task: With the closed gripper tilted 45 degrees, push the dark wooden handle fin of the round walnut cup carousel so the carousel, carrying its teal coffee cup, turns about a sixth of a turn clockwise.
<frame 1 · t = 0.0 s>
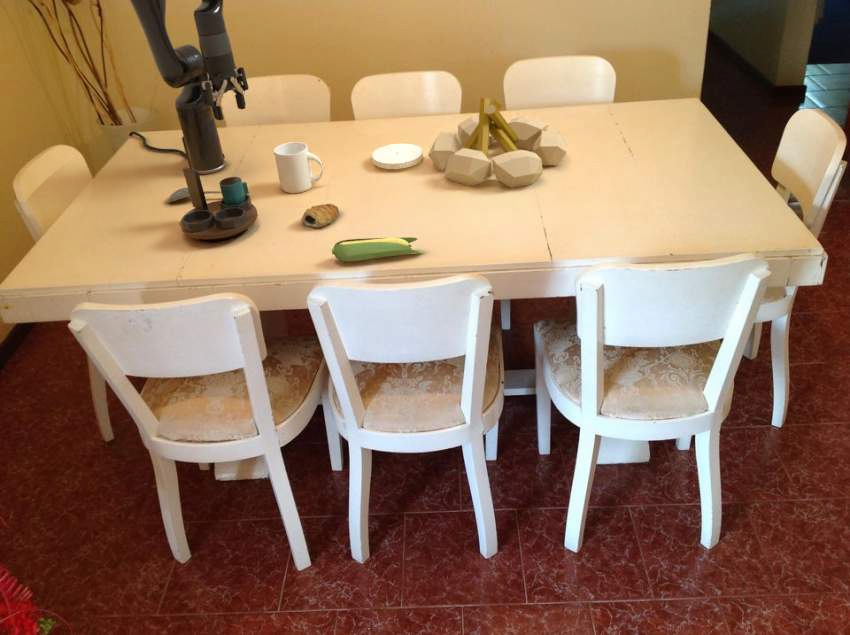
hand: (230, 114, 192), 17 cm above the table, tool pointing down, fingers open, 8 cm apart
campfire: (497, 163, 197), on the table
pastry: (321, 221, 176), on the table
plastic lid: (398, 162, 202), on the table
cup holder: (213, 198, 172), point 8 cm above the table, hinge at 0.0°
carousel base: (221, 229, 176), on the table
mug: (304, 187, 193), on the table
edible corn: (379, 258, 160), on the table
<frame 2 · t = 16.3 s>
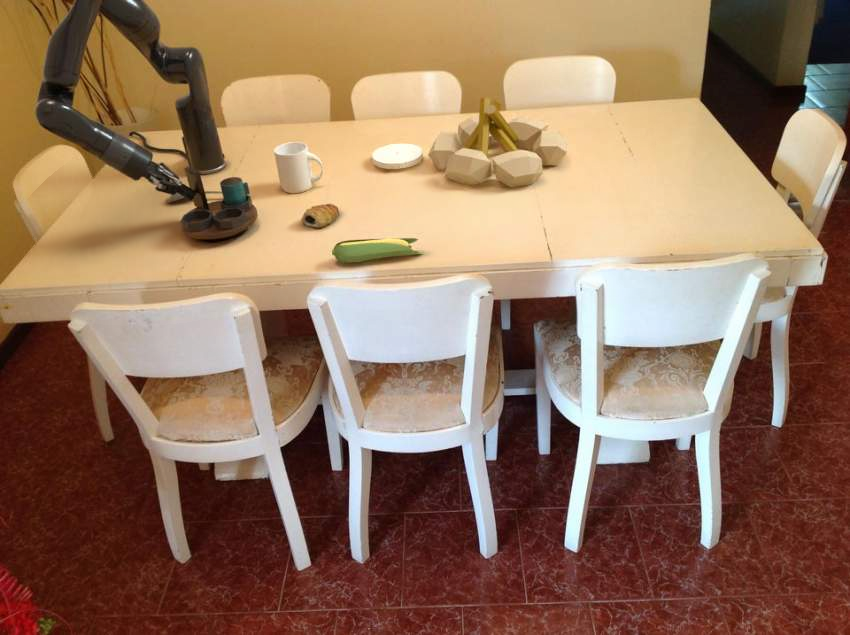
hand: (193, 196, 175), 7 cm above the table, tool tilted 45°, fingers closed
cup holder: (213, 198, 172), point 8 cm above the table, hinge at -2.7°, touching gripper
everything else where it was.
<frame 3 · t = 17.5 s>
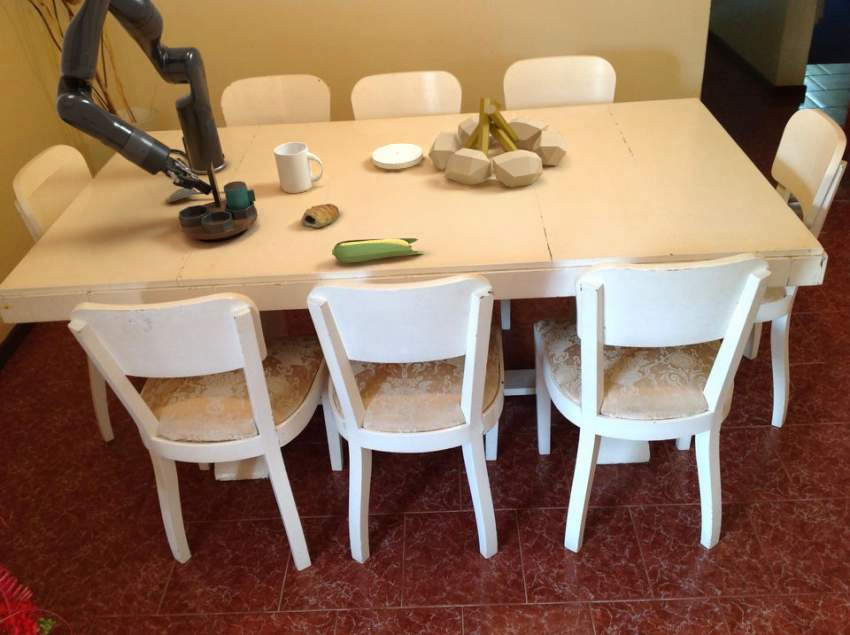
hand: (209, 191, 177), 7 cm above the table, tool tilted 45°, fingers closed
cup holder: (214, 198, 172), point 8 cm above the table, hinge at -35.0°, touching gripper
everything else where it was.
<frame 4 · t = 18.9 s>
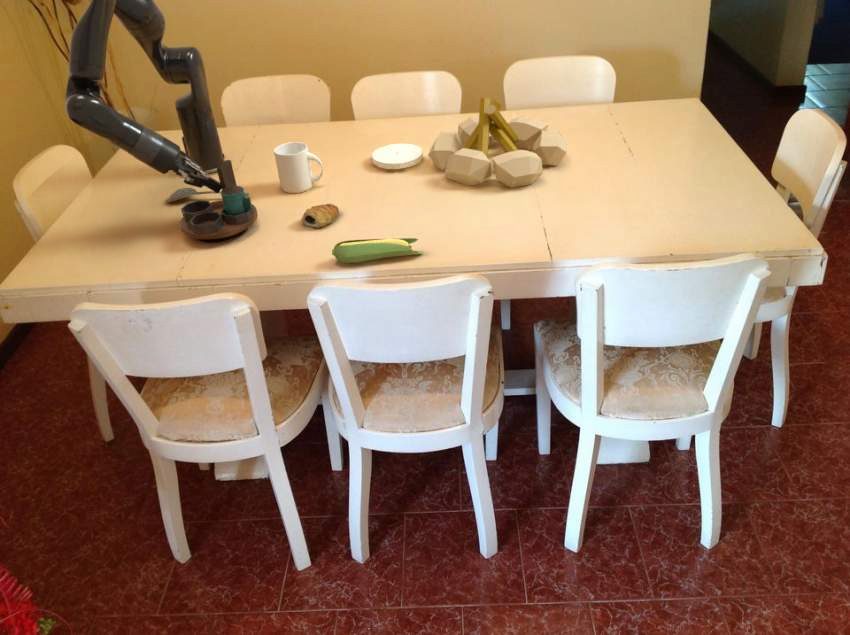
hand: (220, 188, 177), 8 cm above the table, tool tilted 45°, fingers closed
cup holder: (215, 198, 172), point 8 cm above the table, hinge at -62.5°
everything else where it was.
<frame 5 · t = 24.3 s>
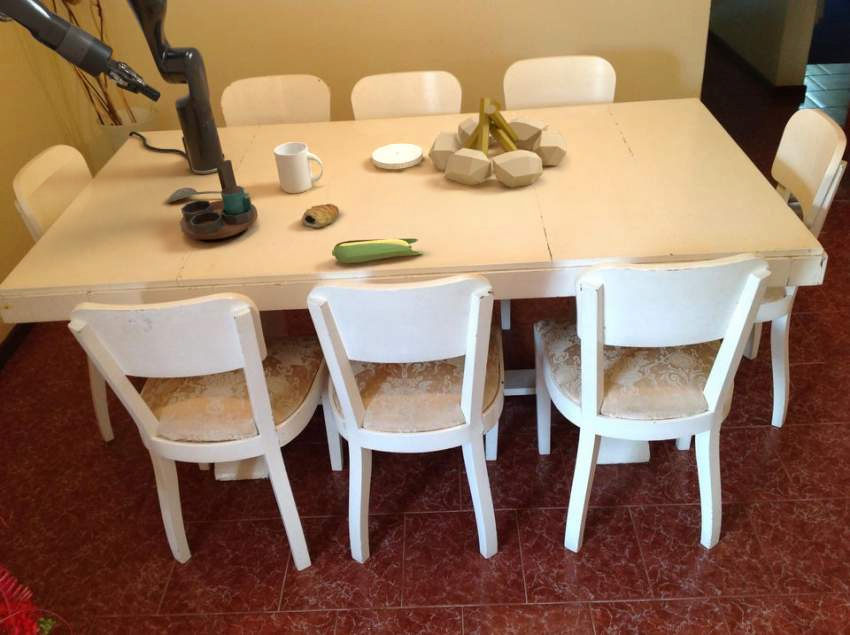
hand: (158, 97, 166), 30 cm above the table, tool tilted 45°, fingers closed
nothing on the table moved.
at the end: cup holder at -62° (first picture: +0°) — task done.
